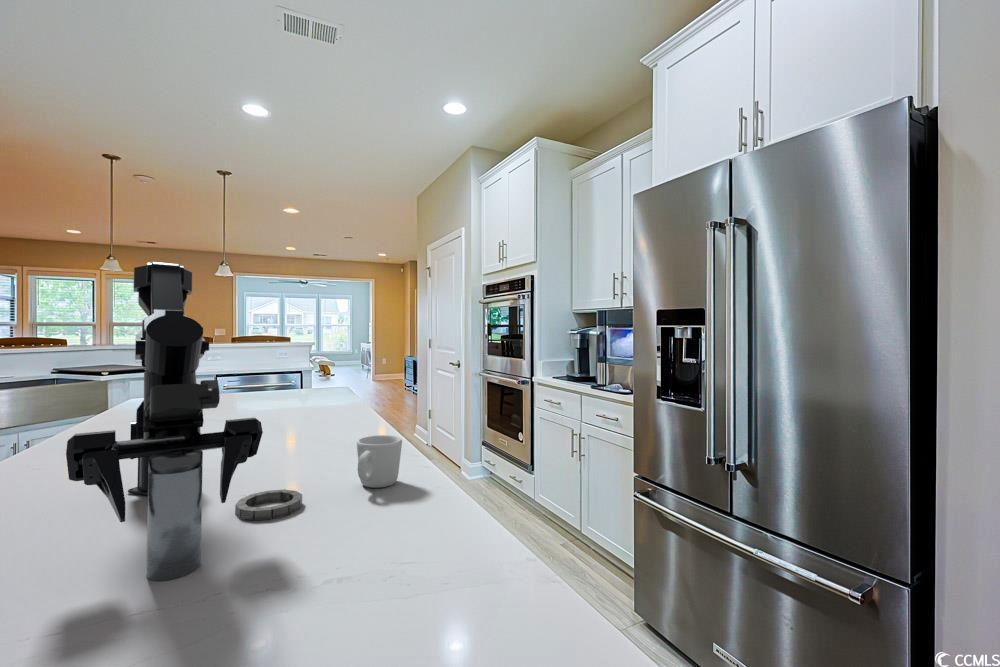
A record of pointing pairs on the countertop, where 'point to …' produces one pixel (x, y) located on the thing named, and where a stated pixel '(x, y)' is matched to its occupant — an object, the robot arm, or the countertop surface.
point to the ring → (266, 513)
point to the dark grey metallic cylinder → (174, 514)
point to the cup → (379, 460)
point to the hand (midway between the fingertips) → (176, 510)
